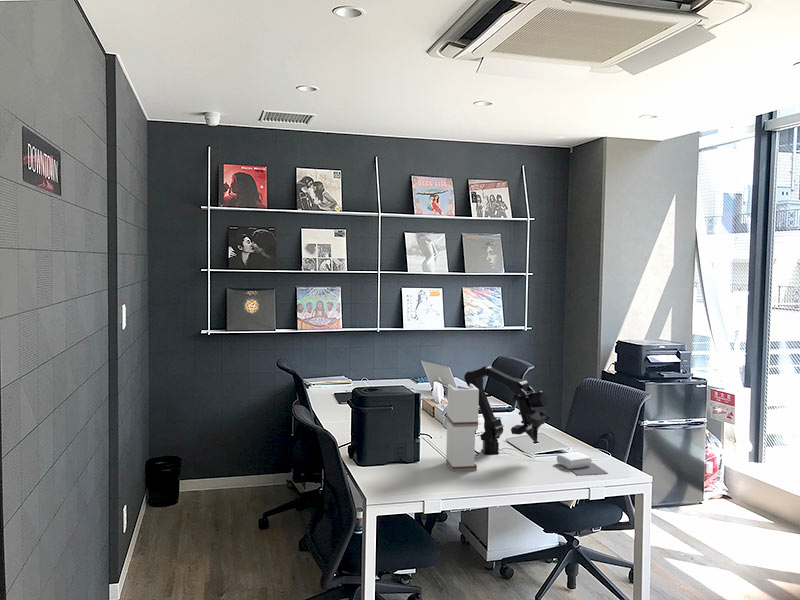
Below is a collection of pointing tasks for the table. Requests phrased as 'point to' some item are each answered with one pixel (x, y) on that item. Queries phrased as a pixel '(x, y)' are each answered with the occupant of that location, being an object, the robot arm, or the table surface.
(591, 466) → the mat
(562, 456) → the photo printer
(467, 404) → the stacked white pillar
